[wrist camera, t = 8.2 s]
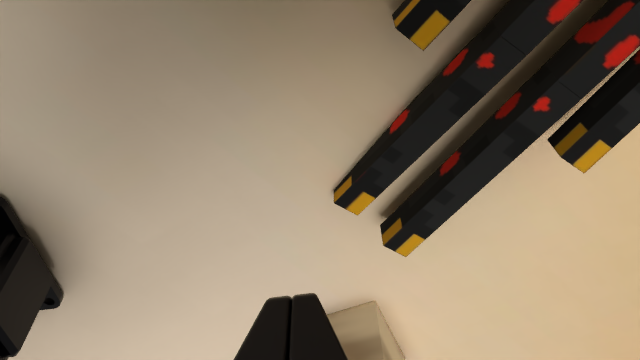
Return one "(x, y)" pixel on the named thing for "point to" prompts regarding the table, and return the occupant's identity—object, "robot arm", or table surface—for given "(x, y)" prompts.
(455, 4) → the toy
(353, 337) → the beech cube
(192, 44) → the table surface
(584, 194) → the table surface
